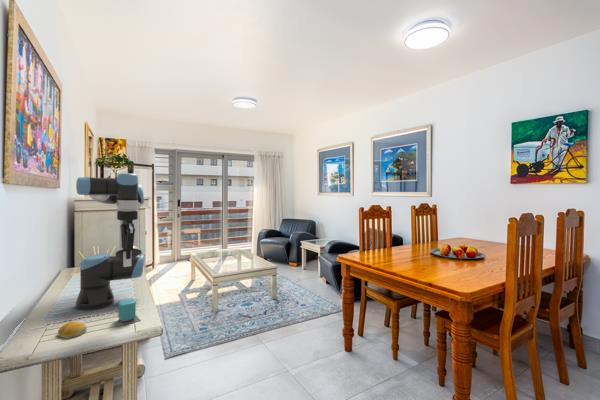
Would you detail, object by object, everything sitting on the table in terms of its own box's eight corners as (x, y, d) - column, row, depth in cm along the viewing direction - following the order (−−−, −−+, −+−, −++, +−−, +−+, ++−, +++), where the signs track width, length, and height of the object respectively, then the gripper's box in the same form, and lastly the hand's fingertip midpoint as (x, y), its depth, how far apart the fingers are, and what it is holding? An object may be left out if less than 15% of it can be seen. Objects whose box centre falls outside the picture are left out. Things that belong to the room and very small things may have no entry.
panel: (118, 319, 126) (118, 319, 126) (135, 315, 131) (135, 314, 131) (123, 325, 121) (123, 324, 121) (140, 320, 126) (140, 320, 126)
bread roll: (69, 340, 109) (69, 330, 109) (53, 335, 112) (53, 325, 112) (92, 331, 116) (92, 320, 116) (77, 326, 120) (77, 316, 120)
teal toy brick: (118, 317, 126) (118, 302, 126) (132, 314, 130) (132, 299, 130) (121, 321, 122) (121, 305, 122) (135, 317, 126) (135, 302, 126)
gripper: (113, 209, 127) (113, 264, 128) (121, 211, 118) (121, 271, 119) (133, 209, 132) (132, 261, 133) (142, 211, 123) (141, 267, 124)
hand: (127, 266), depth 126 cm, fingers closed
